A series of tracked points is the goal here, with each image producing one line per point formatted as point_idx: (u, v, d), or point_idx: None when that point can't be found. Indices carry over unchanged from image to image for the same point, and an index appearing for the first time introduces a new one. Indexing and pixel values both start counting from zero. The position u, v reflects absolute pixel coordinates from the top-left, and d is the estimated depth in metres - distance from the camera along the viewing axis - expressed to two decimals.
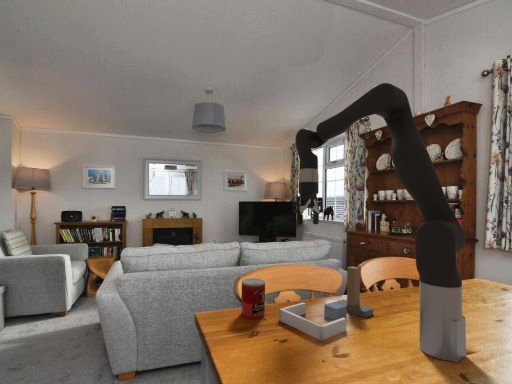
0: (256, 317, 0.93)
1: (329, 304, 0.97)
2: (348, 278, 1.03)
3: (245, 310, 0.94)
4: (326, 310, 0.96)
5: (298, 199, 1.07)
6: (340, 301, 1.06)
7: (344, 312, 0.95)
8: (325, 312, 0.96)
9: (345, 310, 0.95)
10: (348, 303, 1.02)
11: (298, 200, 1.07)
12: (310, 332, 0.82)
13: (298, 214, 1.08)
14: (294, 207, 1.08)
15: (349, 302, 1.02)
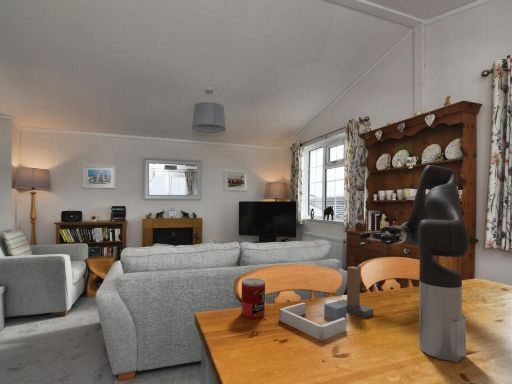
0: (256, 317, 0.93)
1: (329, 304, 0.97)
2: (348, 278, 1.03)
3: (245, 310, 0.94)
4: (326, 310, 0.96)
5: None
6: (340, 301, 1.06)
7: (344, 312, 0.95)
8: (325, 312, 0.96)
9: (345, 310, 0.95)
10: (348, 303, 1.02)
11: None
12: (310, 332, 0.82)
13: None
14: None
15: (349, 302, 1.02)
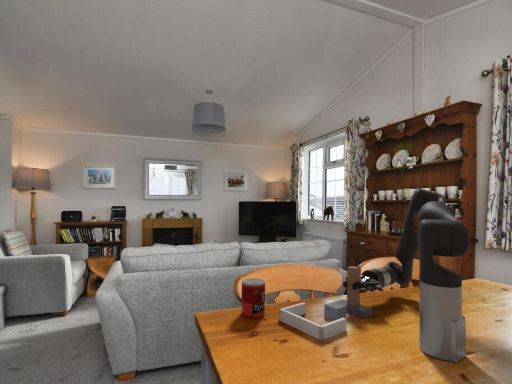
0: (256, 317, 0.93)
1: (329, 304, 0.97)
2: (348, 278, 1.03)
3: (245, 310, 0.94)
4: (326, 310, 0.96)
5: None
6: (340, 301, 1.06)
7: (344, 312, 0.95)
8: (325, 312, 0.96)
9: (345, 310, 0.95)
10: (348, 303, 1.02)
11: None
12: (310, 332, 0.82)
13: None
14: None
15: (349, 301, 1.02)
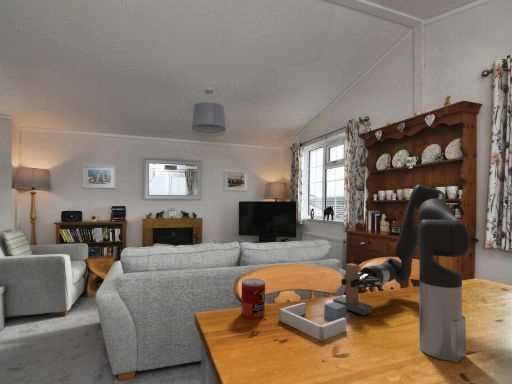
0: (256, 317, 0.93)
1: (329, 304, 0.97)
2: (346, 275, 1.02)
3: (245, 310, 0.94)
4: (326, 310, 0.96)
5: None
6: (339, 298, 1.06)
7: (344, 312, 0.95)
8: (325, 312, 0.96)
9: (345, 310, 0.95)
10: (347, 300, 1.02)
11: None
12: (310, 332, 0.82)
13: None
14: None
15: (347, 299, 1.02)
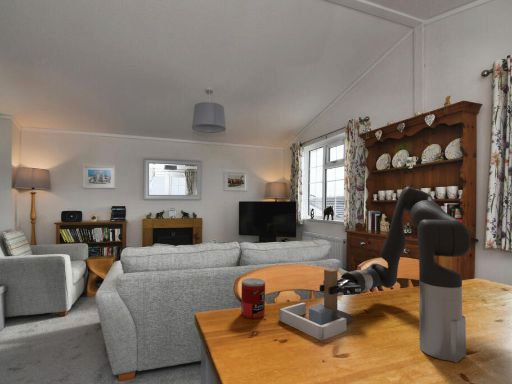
0: (256, 317, 0.93)
1: (314, 308, 0.93)
2: (325, 281, 0.95)
3: (245, 310, 0.94)
4: (310, 314, 0.92)
5: None
6: None
7: (329, 316, 0.91)
8: (310, 316, 0.92)
9: (330, 314, 0.91)
10: None
11: None
12: (310, 332, 0.82)
13: None
14: None
15: (326, 307, 0.95)
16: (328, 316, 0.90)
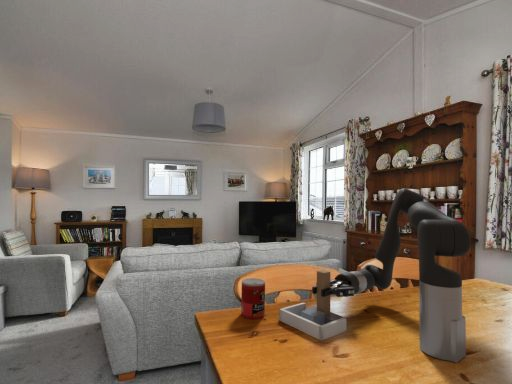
0: (256, 317, 0.93)
1: (306, 311, 0.90)
2: (317, 283, 0.93)
3: (245, 310, 0.94)
4: (303, 317, 0.89)
5: None
6: (310, 308, 0.96)
7: (322, 320, 0.89)
8: None
9: (323, 317, 0.89)
10: None
11: None
12: (310, 332, 0.82)
13: None
14: None
15: (318, 309, 0.92)
16: (320, 319, 0.88)
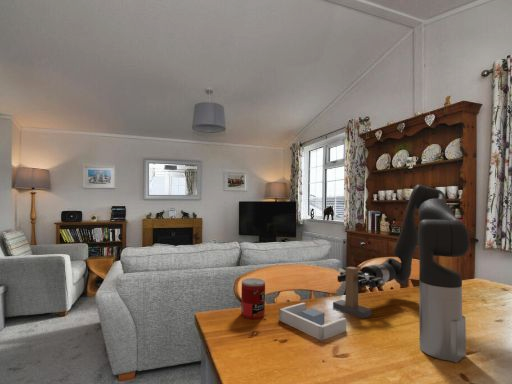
0: (256, 317, 0.93)
1: (306, 311, 0.90)
2: (346, 278, 1.02)
3: (245, 310, 0.94)
4: (303, 317, 0.89)
5: None
6: (338, 301, 1.05)
7: (322, 319, 0.89)
8: None
9: (323, 317, 0.89)
10: (346, 304, 1.02)
11: None
12: (310, 332, 0.82)
13: None
14: None
15: (347, 302, 1.01)
16: (320, 319, 0.88)
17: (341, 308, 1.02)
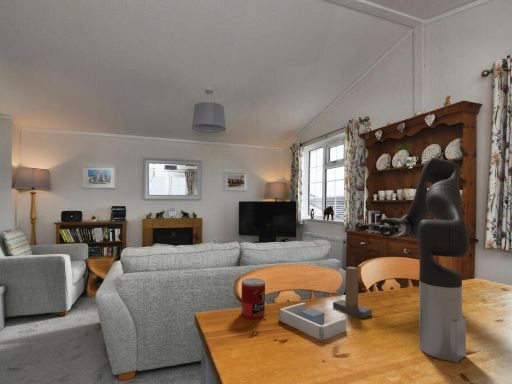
0: (256, 317, 0.93)
1: (306, 311, 0.90)
2: (346, 278, 1.02)
3: (245, 310, 0.94)
4: (303, 317, 0.89)
5: None
6: (338, 301, 1.05)
7: (322, 319, 0.89)
8: None
9: (323, 317, 0.89)
10: (346, 304, 1.02)
11: None
12: (310, 332, 0.82)
13: None
14: None
15: (347, 302, 1.01)
16: (320, 319, 0.88)
17: (341, 308, 1.02)
